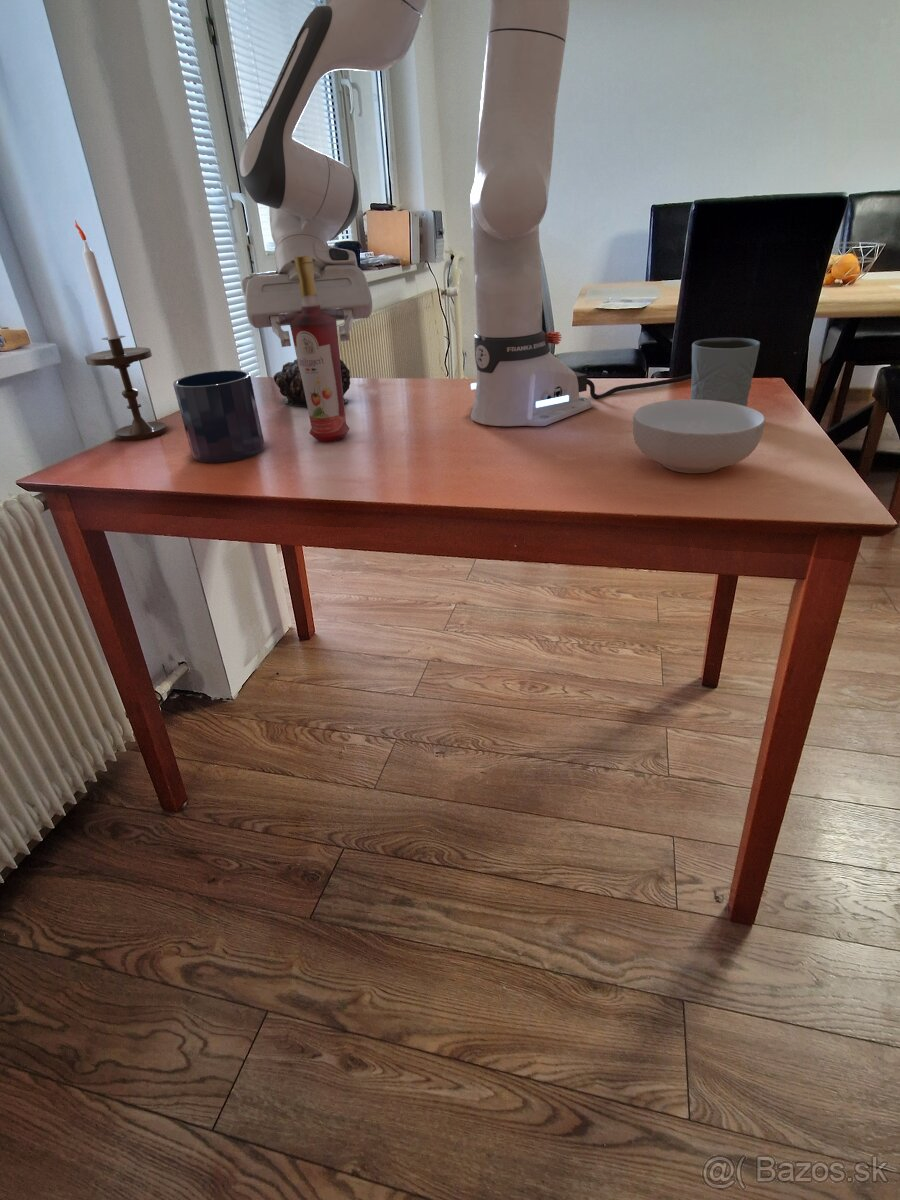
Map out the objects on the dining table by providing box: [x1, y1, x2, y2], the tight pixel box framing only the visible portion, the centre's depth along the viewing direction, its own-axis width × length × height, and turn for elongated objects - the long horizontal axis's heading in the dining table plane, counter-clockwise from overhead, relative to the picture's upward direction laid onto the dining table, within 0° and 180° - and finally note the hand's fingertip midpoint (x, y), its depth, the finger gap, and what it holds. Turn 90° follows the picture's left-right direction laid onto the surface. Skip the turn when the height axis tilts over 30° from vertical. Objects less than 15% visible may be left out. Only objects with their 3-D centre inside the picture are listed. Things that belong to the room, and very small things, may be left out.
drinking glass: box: [690, 337, 761, 407], centre depth 109 cm, size 10×10×12 cm
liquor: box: [289, 256, 351, 443], centre depth 108 cm, size 7×7×28 cm
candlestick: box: [74, 219, 168, 442], centre depth 117 cm, size 11×11×35 cm
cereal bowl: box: [632, 398, 766, 474], centre depth 91 cm, size 17×17×7 cm
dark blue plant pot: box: [172, 369, 266, 464], centre depth 109 cm, size 12×12×12 cm
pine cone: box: [273, 358, 351, 407], centre depth 135 cm, size 10×18×10 cm, turn 68°
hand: (315, 341), depth 107 cm, fingers open, 8 cm apart
